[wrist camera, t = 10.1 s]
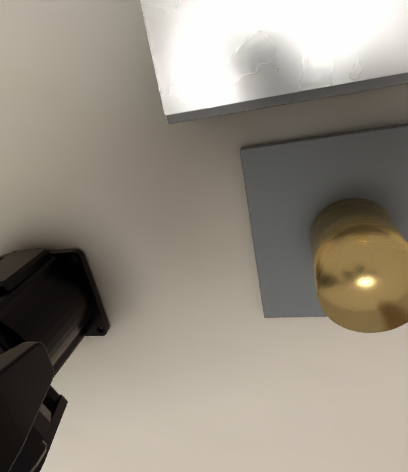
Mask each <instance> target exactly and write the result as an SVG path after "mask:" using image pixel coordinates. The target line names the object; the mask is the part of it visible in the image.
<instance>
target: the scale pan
mask: <svg viewBox="0 0 408 472" xmlns="http://www.w3.org/2000/svg"><path fill="white" fill-rule="evenodd" d="M140 4H141V9H142V13H143V18H144V22H145V27H146V32H147V36H148V41H149V45H150V50H151V55H152V59H153V64H154V68H155V73H156V78H157V82H158V87H159V91H160V96H161V101H162V105H163V110H164V114H165V115H171V114H176V113H182V112H187V111H193V110H199V109H204V108H210V107H216V106H221V105H227V104H232V103H238V102H244V101H249V100H255V99H260V98H266V97H272V96H277V95H283V94H289V93H294V92H300V91H305V90H311V89H317V88H322V87H328V86H334V85H339V84H345V83H350V82H356V81H362V80H367V79H373V78H378V77H384V76H390V75H395V74H401V73H407V72H408V0H140Z"/></svg>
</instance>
